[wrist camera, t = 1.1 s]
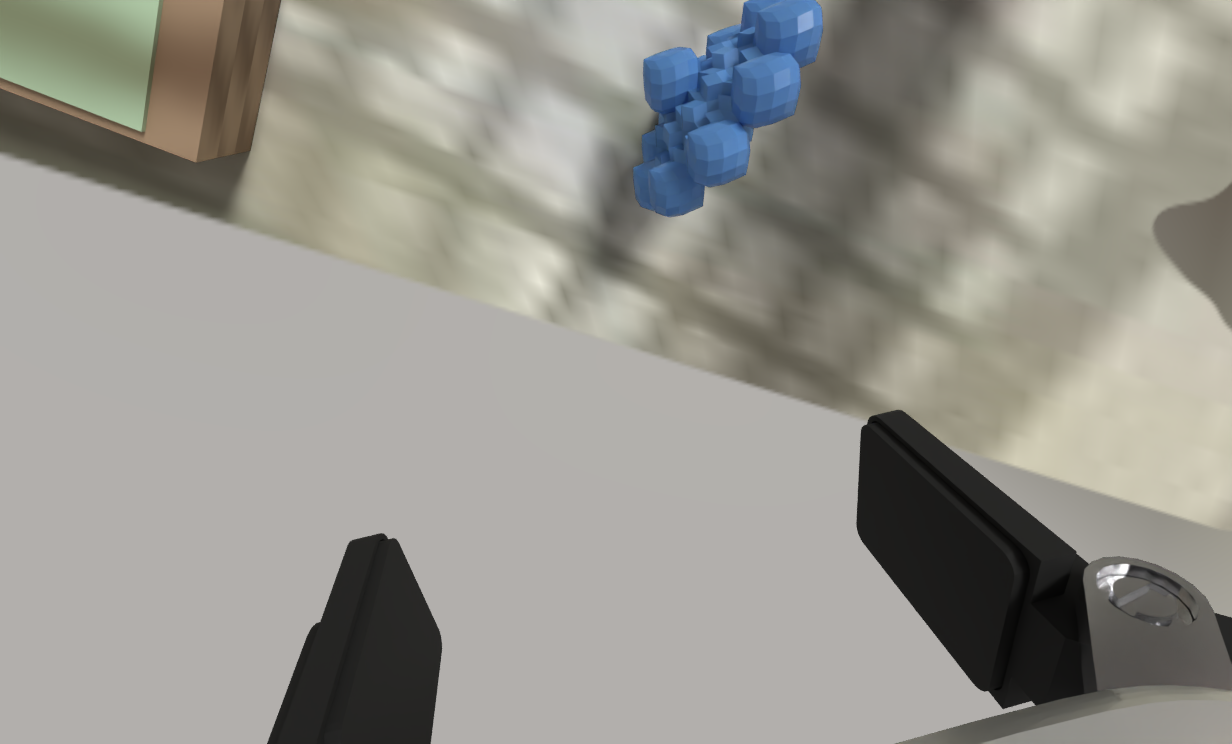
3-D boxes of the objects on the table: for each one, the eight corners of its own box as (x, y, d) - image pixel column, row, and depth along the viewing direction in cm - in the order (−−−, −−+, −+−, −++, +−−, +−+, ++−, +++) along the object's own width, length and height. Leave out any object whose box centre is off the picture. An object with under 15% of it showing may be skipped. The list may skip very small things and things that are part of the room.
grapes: (679, -42, 30) (773, -115, 19) (773, 39, 32) (901, 12, 22) (569, 158, 33) (598, 188, 23) (661, 217, 36) (726, 269, 25)
